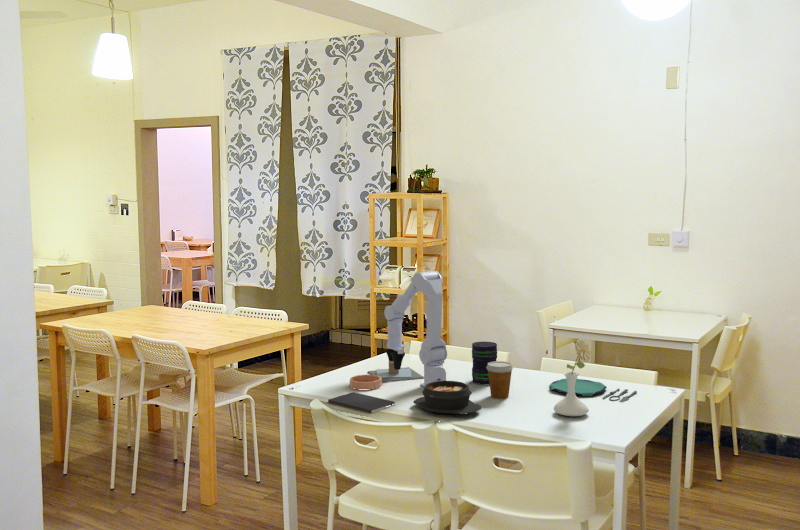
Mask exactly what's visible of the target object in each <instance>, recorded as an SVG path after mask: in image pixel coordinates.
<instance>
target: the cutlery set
mask: <svg viewBox="0 0 800 530" xmlns="http://www.w3.org/2000/svg"><path fill="white" fill-rule="evenodd" d="M548 388H549V390H550V391H551V392H552V390H554V391H557V392H559V393H563V394H567V393H568V383H567V379H566V378H561V379H557V380H555V381H554V380H553V382H550V384H549V386H548ZM606 389H607V386H606V385H605V384H604V383H602V382H600V381H593V380H589V379H582V378H578V377H577V378H576V381H575V395H576V396H577V395H578V396H582V397H592V396H594V395H597V394H600V393H603V392H604V391H605V390H606ZM617 391H620V388H617V389H616V390H614V391H610V392H609V393H608V394H606V395H604V396H603V397H602V400H604V399H607V398H609V399H608V400H611V401H612V399H613V398H614V399H615V401H618V402H619V403H624V402H627V401H629V400H630V398H632V397H633V396H635V395H636V394H637V393H638V391H637V390H634V391H633V392H632V393H631V394H628V395H625V396H623V397H622V398H621V397H620V396H622V395H623V394H625V393H627V392H628V391H629V389H626V388H625V389H623V390H622V391H621V392H620V393H618V394H617V395H614V394H615V393H616V392H617ZM616 398H617V399H616ZM620 398H621V399H620Z"/></svg>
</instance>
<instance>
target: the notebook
mask: <svg viewBox="0 0 800 530" xmlns="http://www.w3.org/2000/svg"><path fill="white" fill-rule="evenodd" d="M327 403H330V404H334V405H338V406H341V407H345V408H350V409H353V410H357V411H361V412H363V413H365V412H366V413H369V414H373V413H376V412H379V411H381V410H385V409H386V408H385V407H386V406H389V405H392V404H395V403H396V401H393V400H388V399H385V398H380V397H377V396H372V395H368V394H367V395H366V394H365V393H364V394H363V393H359V392H353V391H352V392H348V393H345V394H343V395H339V396H336V397H331V398H329V399H327ZM384 408H385V409H384Z"/></svg>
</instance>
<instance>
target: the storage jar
mask: <svg viewBox="0 0 800 530" xmlns="http://www.w3.org/2000/svg"><path fill="white" fill-rule="evenodd" d="M471 346H472V347H471V359H472V368H471V376H472V377H471V378H472V379H471V383H473V384H476V385H480V386H481V385H482V386H490V384H489V376H488V370H487V368H486V367H487V365H488V363H489V362H494V361H497V359H498V348H497V347H498V344H497V342H494V341H475V342H472V343H471Z"/></svg>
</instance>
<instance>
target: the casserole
mask: <svg viewBox="0 0 800 530" xmlns="http://www.w3.org/2000/svg"><path fill="white" fill-rule="evenodd" d="M421 393H422V395H423V396H420V397H417V398H416V399H414V400H413V404H414V405H417V406H419V407H420V408H422V409H423V410H424V411H425V410H426V411H429V412H432V413H434V412H435V413H434V414H439V413H440V415H468V414H473V413H476V412H479V411H480V410H482V405H480V404H478V403H475V402H474V401H472V400H471V399H470V397H471V395H472V393H473V392H472V390H471V389H470V387H469V384H467V383H466V382H465V383H464V382H462V381H458V380H457V381H456V380H446V381H436V382H431V383H428V384H426V385H425V387H423V390H422V391H421Z"/></svg>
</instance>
